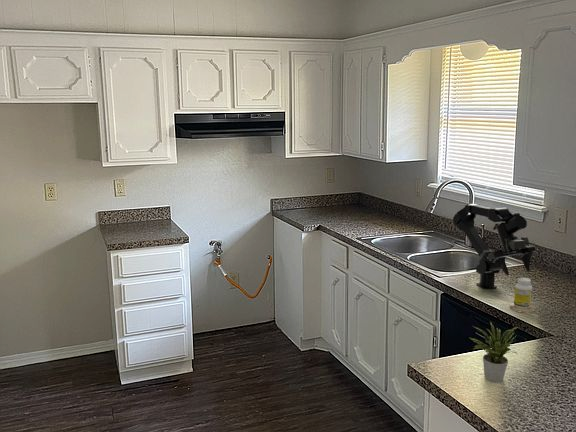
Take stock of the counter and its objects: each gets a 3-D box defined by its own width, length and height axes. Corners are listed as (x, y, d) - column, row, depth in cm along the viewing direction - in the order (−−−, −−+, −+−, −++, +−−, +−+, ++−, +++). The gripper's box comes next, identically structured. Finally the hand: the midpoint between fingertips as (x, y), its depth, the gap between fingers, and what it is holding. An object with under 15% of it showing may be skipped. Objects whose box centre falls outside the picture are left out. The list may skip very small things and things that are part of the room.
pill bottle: (518, 302, 234) (521, 275, 232) (533, 306, 229) (536, 279, 227) (510, 305, 230) (512, 278, 228) (525, 310, 225) (527, 282, 223)
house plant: (491, 361, 184) (495, 312, 181) (530, 379, 173) (535, 327, 169) (460, 373, 176) (464, 322, 173) (498, 392, 165) (503, 338, 162)
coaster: (505, 305, 233) (505, 303, 233) (525, 303, 235) (525, 301, 235) (518, 313, 224) (518, 311, 224) (539, 311, 226) (539, 309, 226)
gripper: (495, 234, 232) (506, 272, 227) (537, 227, 235) (549, 265, 231) (482, 242, 243) (493, 278, 238) (523, 235, 246) (535, 271, 241)
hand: (518, 273), depth 237 cm, fingers open, 9 cm apart
